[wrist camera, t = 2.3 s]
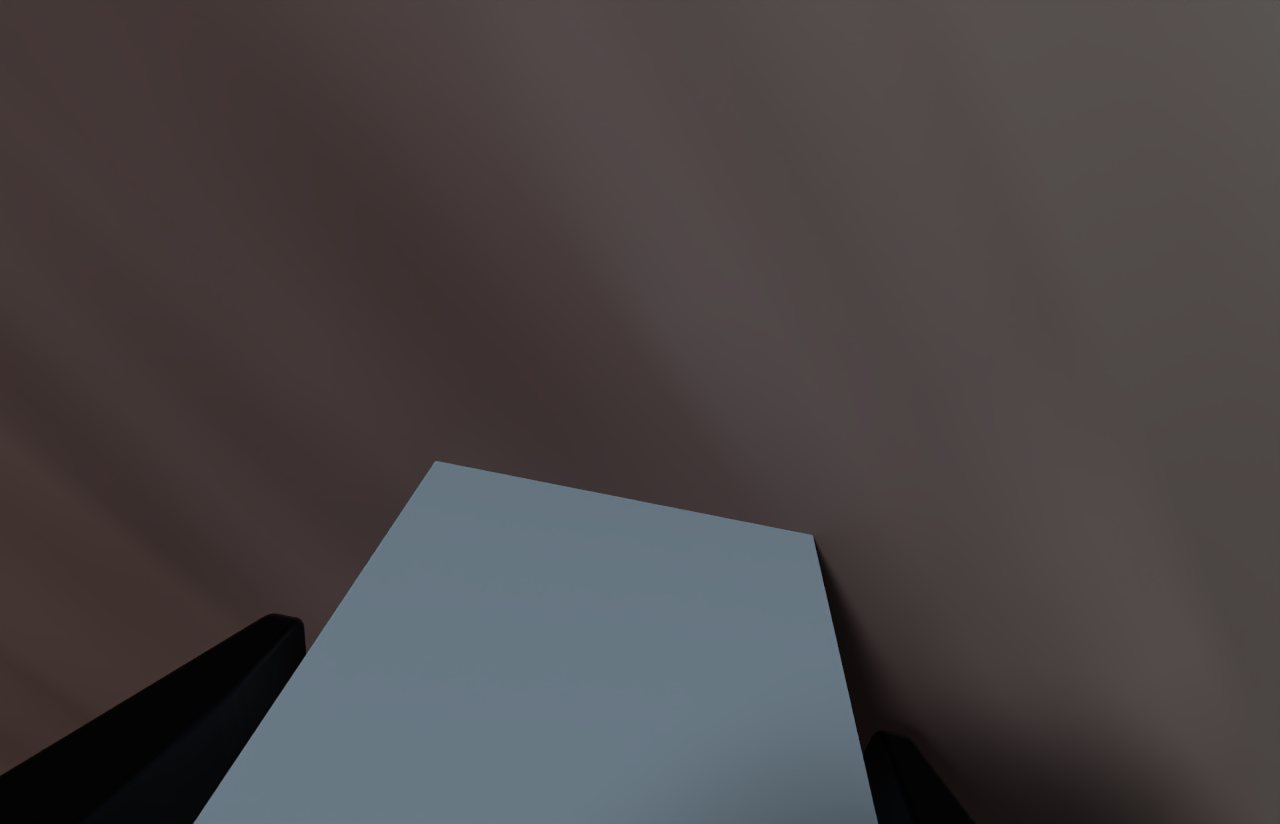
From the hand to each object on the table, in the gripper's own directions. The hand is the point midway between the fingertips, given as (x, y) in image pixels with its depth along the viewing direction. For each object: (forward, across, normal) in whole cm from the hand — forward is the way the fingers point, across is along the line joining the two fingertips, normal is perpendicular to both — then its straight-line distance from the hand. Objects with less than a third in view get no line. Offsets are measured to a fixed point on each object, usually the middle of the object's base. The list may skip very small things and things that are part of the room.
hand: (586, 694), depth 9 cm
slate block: (+1, 0, 0) cm, 1 cm away
